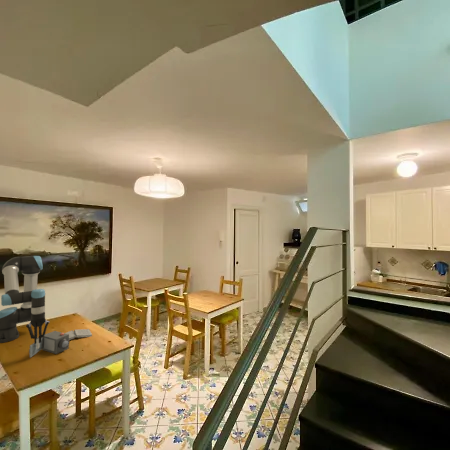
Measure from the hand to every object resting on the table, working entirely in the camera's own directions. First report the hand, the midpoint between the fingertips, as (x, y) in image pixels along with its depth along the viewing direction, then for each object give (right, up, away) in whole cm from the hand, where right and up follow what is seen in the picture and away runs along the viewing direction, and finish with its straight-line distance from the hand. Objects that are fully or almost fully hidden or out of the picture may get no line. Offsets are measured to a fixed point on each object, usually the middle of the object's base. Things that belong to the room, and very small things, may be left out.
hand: (37, 347), depth 167 cm
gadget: (+6, -7, +31) cm, 33 cm away
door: (-3, -4, +2) cm, 5 cm away
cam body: (+6, -6, +9) cm, 13 cm away
